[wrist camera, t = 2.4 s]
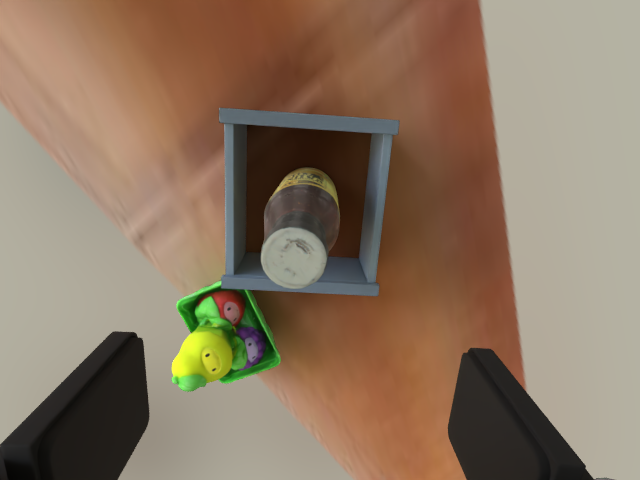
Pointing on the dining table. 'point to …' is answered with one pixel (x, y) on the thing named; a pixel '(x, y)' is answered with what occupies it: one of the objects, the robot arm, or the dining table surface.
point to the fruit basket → (222, 338)
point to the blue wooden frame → (240, 264)
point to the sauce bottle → (300, 228)
